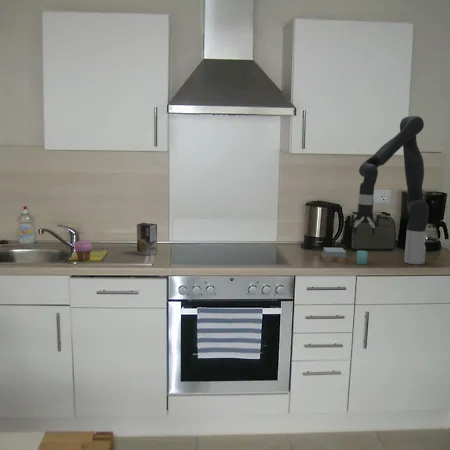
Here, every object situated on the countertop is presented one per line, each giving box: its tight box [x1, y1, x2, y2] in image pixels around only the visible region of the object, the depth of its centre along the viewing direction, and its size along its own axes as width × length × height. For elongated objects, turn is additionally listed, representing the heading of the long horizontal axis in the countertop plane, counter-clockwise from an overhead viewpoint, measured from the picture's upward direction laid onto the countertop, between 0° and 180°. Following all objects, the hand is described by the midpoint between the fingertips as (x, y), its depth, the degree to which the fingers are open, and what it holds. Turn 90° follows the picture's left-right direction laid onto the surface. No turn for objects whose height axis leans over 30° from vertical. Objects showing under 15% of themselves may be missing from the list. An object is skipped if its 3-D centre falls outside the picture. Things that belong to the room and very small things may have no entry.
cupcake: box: [73, 240, 94, 262], centre depth 273 cm, size 9×9×10 cm
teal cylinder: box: [355, 250, 369, 265], centre depth 279 cm, size 5×5×6 cm
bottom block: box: [319, 252, 349, 263], centre depth 286 cm, size 12×12×3 cm
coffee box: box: [136, 222, 158, 256], centre depth 289 cm, size 9×6×16 cm
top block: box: [322, 246, 347, 258], centre depth 285 cm, size 10×10×3 cm
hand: (363, 234), depth 277 cm, fingers open, 8 cm apart
